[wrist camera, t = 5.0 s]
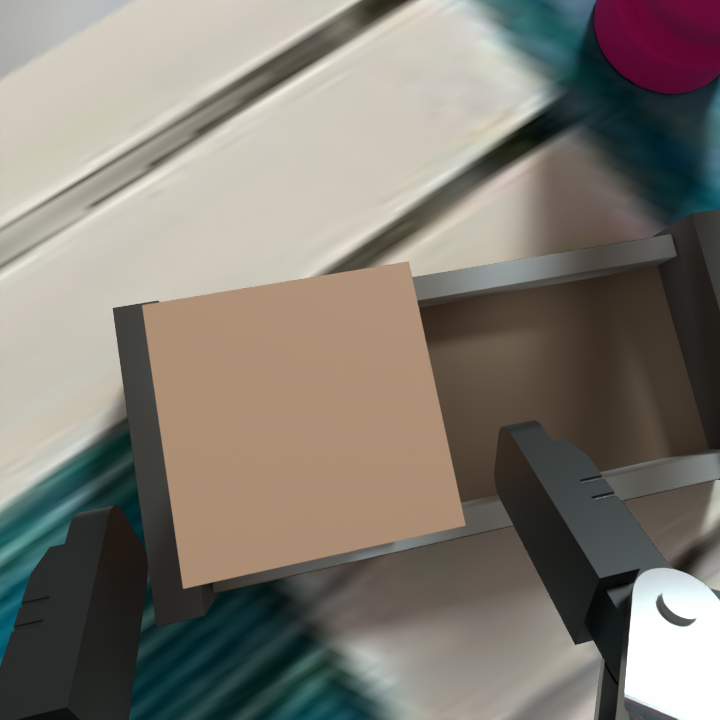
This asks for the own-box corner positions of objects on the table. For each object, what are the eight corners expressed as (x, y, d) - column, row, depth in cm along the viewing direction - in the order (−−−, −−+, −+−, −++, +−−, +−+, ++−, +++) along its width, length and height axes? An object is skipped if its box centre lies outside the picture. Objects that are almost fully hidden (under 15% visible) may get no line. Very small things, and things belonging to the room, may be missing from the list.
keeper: (365, 328, 18) (426, 196, 8) (400, 503, 17) (514, 589, 7) (219, 354, 18) (97, 245, 8) (249, 536, 17) (155, 674, 7)
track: (656, 247, 21) (726, 207, 18) (718, 469, 20) (807, 476, 16) (151, 333, 19) (112, 308, 15) (188, 588, 18) (156, 626, 14)
